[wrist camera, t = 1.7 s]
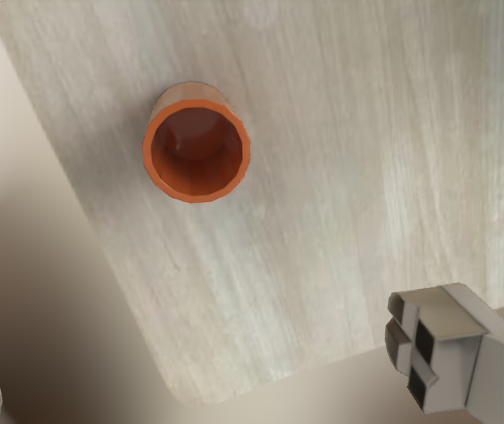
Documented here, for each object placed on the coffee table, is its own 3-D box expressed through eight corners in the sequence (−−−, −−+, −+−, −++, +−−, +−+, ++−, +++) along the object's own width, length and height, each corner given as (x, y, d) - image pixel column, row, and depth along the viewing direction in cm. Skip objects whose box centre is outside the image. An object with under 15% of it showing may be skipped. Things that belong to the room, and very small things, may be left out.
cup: (155, 164, 27) (148, 206, 21) (147, 82, 25) (136, 100, 19) (234, 161, 28) (250, 199, 22) (232, 80, 26) (249, 97, 20)
